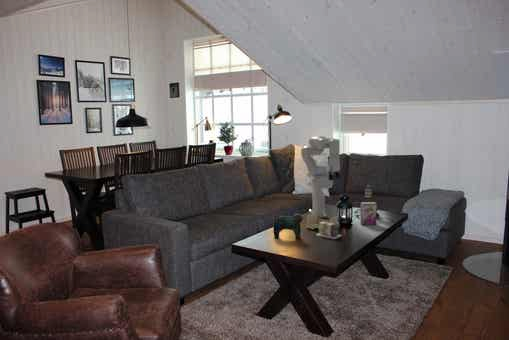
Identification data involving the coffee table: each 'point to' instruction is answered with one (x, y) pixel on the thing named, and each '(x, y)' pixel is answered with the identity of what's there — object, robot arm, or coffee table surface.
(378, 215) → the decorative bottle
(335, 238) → the felt pad
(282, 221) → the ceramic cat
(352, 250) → the coffee table surface
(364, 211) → the candy bar box
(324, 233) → the block
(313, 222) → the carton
